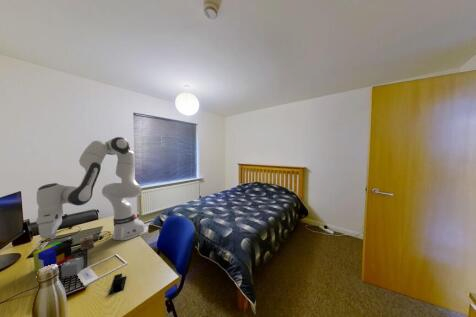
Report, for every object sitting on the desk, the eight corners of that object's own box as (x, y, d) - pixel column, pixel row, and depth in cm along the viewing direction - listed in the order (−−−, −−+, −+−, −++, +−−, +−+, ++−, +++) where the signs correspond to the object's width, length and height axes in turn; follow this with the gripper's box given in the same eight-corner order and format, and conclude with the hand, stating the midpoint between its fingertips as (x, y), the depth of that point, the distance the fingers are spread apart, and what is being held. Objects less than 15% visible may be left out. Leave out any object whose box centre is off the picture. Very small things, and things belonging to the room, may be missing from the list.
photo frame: (75, 272, 84) (116, 253, 99) (75, 274, 84) (116, 255, 99) (84, 285, 76) (127, 262, 91) (84, 287, 76) (127, 264, 91)
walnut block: (93, 243, 111) (92, 234, 111) (93, 247, 107) (93, 237, 107) (80, 247, 107) (80, 237, 107) (81, 251, 103) (80, 241, 102)
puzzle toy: (48, 273, 84) (47, 254, 84) (34, 270, 86) (33, 252, 86) (72, 260, 94) (70, 243, 94) (58, 258, 96) (57, 241, 96)
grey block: (83, 267, 88) (83, 256, 88) (77, 275, 83) (76, 263, 82) (69, 270, 86) (68, 258, 86) (62, 278, 81) (61, 266, 80)
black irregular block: (111, 279, 81) (111, 270, 80) (129, 274, 84) (129, 265, 84) (105, 300, 70) (104, 289, 69) (125, 293, 73) (125, 283, 73)
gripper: (49, 209, 96) (51, 232, 97) (34, 222, 79) (37, 249, 80) (64, 206, 100) (66, 228, 101) (53, 218, 83) (56, 244, 84)
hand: (53, 238), depth 90 cm, fingers closed
